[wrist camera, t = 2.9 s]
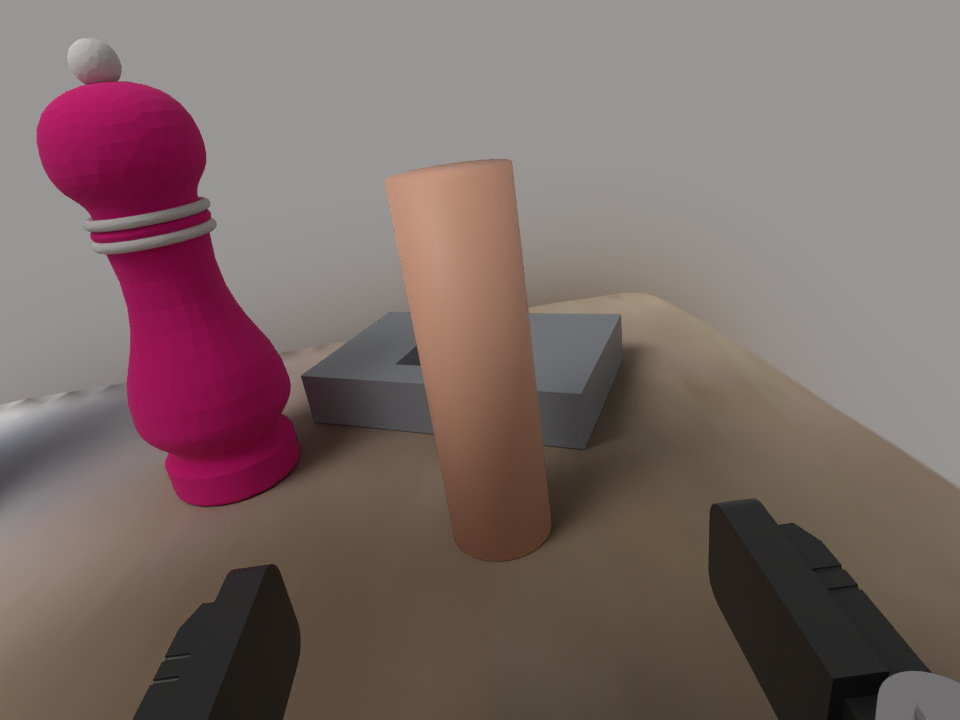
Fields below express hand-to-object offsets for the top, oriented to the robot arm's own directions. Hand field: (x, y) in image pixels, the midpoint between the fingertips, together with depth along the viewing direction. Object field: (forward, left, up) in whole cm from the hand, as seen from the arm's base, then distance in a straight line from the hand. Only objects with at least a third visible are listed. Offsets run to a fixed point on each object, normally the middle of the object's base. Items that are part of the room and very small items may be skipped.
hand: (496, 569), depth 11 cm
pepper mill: (-20, +11, -8) cm, 24 cm away
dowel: (-5, +10, -8) cm, 14 cm away
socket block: (-11, +21, -8) cm, 25 cm away
